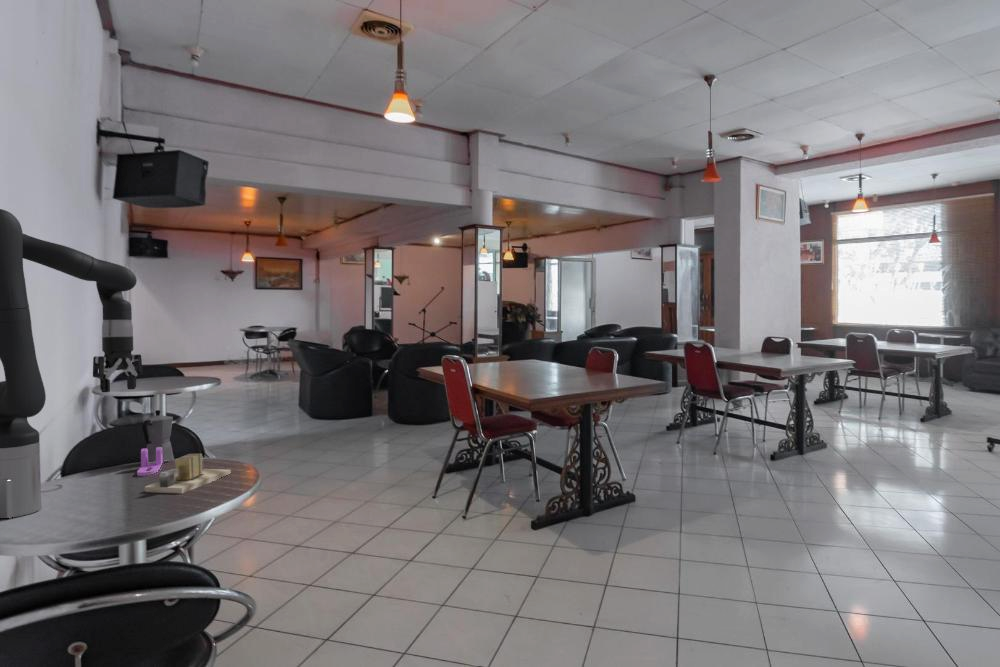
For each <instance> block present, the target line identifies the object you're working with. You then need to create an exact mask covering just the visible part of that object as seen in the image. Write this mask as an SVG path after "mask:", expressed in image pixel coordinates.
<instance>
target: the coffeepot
mask: <svg viewBox="0 0 1000 667" xmlns="http://www.w3.org/2000/svg"><path fill="white" fill-rule="evenodd" d="M154 412H155V415H154V416H150V417H147V418H144V419H142V426H141V428H142V429H141V430H142V433H143V436H144V440H145V443H146V448H147V449H148V462H154V461H156V448H157V447H162V452H163V461H164V460H173V461H174V460H175V456H174V453H173V447H172V443H171V440H170V439H171V438H170V437H171V435H172V428H173V421H174V419H173V418H174V416H169V415H162V414H161V410H160V409H157V410H154Z"/></svg>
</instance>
